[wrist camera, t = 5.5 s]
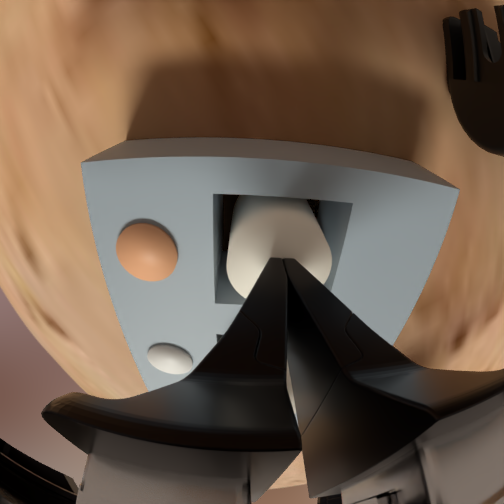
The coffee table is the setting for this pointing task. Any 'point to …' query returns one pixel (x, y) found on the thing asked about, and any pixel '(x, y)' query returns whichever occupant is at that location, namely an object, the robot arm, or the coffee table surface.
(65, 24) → the coffee table surface
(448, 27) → the end cap
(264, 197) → the button outer
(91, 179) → the button board
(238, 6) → the coffee table surface
